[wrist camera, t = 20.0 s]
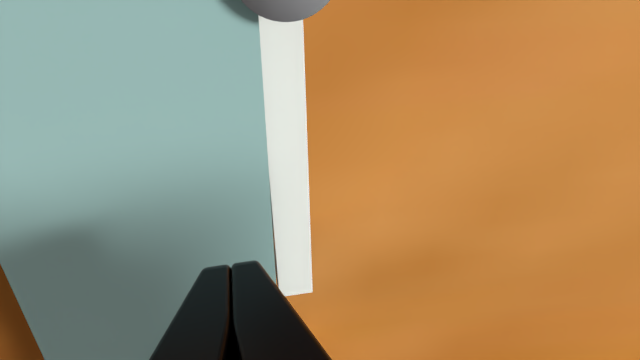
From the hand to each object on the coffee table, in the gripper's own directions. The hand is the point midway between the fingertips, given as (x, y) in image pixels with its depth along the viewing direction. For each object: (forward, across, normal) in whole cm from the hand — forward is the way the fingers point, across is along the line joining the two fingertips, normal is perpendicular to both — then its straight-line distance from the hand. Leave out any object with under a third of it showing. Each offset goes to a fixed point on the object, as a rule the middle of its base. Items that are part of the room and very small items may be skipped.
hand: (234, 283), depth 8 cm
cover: (+4, +1, +2) cm, 5 cm away
